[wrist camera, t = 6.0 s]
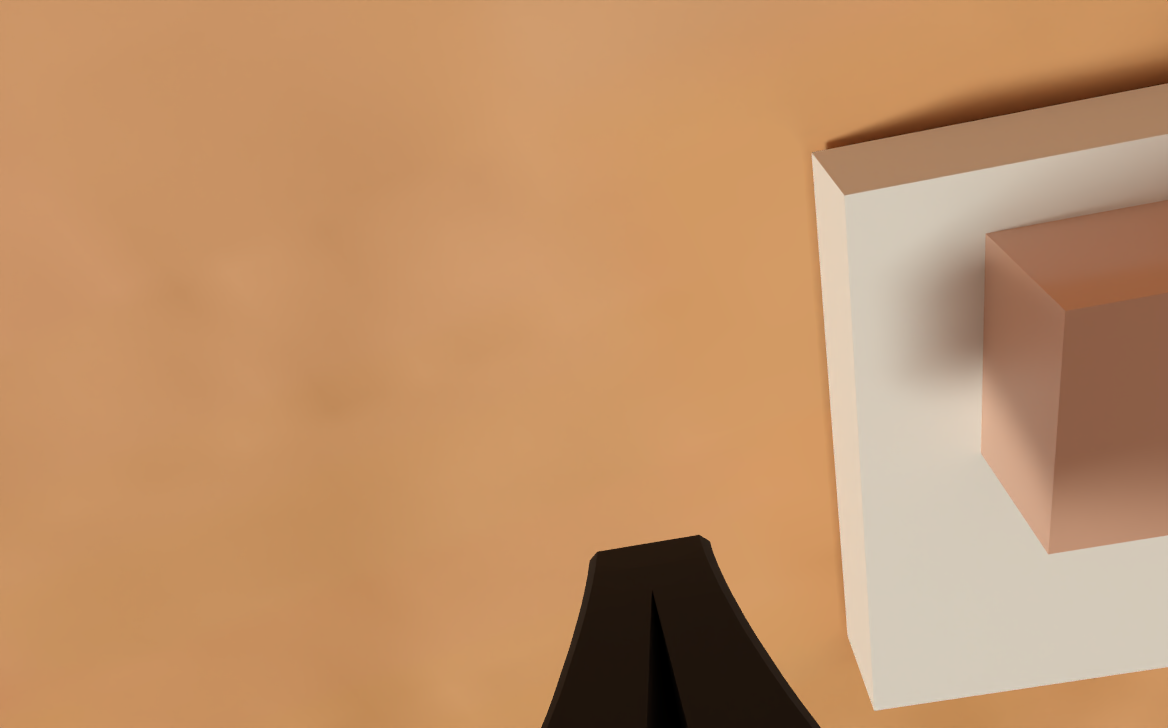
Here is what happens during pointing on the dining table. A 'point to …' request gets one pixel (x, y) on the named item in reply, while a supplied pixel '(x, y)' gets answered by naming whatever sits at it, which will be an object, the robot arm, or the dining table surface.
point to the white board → (967, 406)
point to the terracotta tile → (1080, 375)
